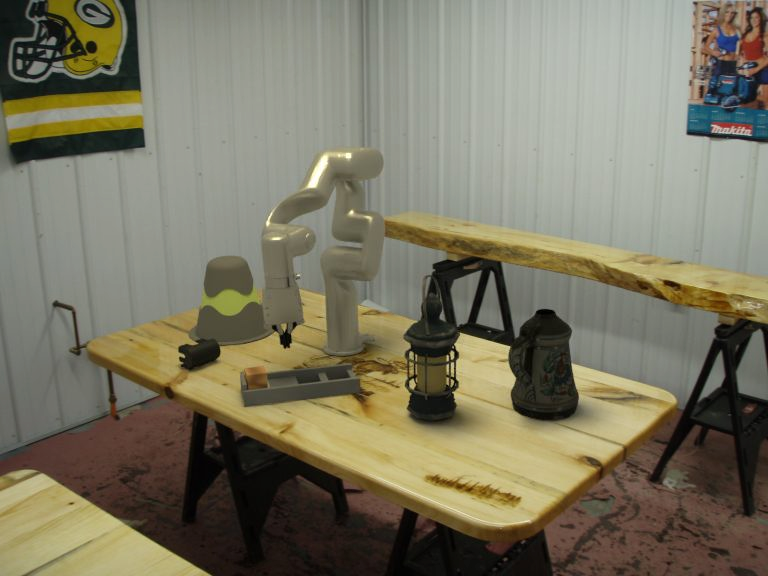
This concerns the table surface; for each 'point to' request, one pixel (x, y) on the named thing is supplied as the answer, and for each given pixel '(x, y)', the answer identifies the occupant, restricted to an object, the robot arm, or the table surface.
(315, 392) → the tray
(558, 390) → the beer stein
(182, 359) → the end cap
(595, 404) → the table surface
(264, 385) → the orange block
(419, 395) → the lantern
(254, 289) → the grey bell cover
